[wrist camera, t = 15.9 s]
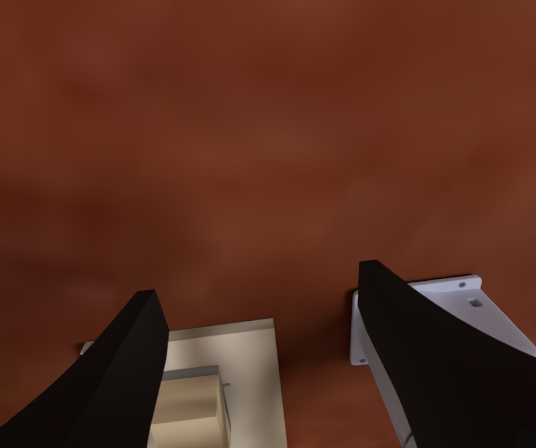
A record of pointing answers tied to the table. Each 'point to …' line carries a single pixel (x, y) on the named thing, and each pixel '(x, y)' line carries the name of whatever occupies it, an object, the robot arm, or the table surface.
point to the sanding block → (191, 410)
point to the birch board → (236, 376)
